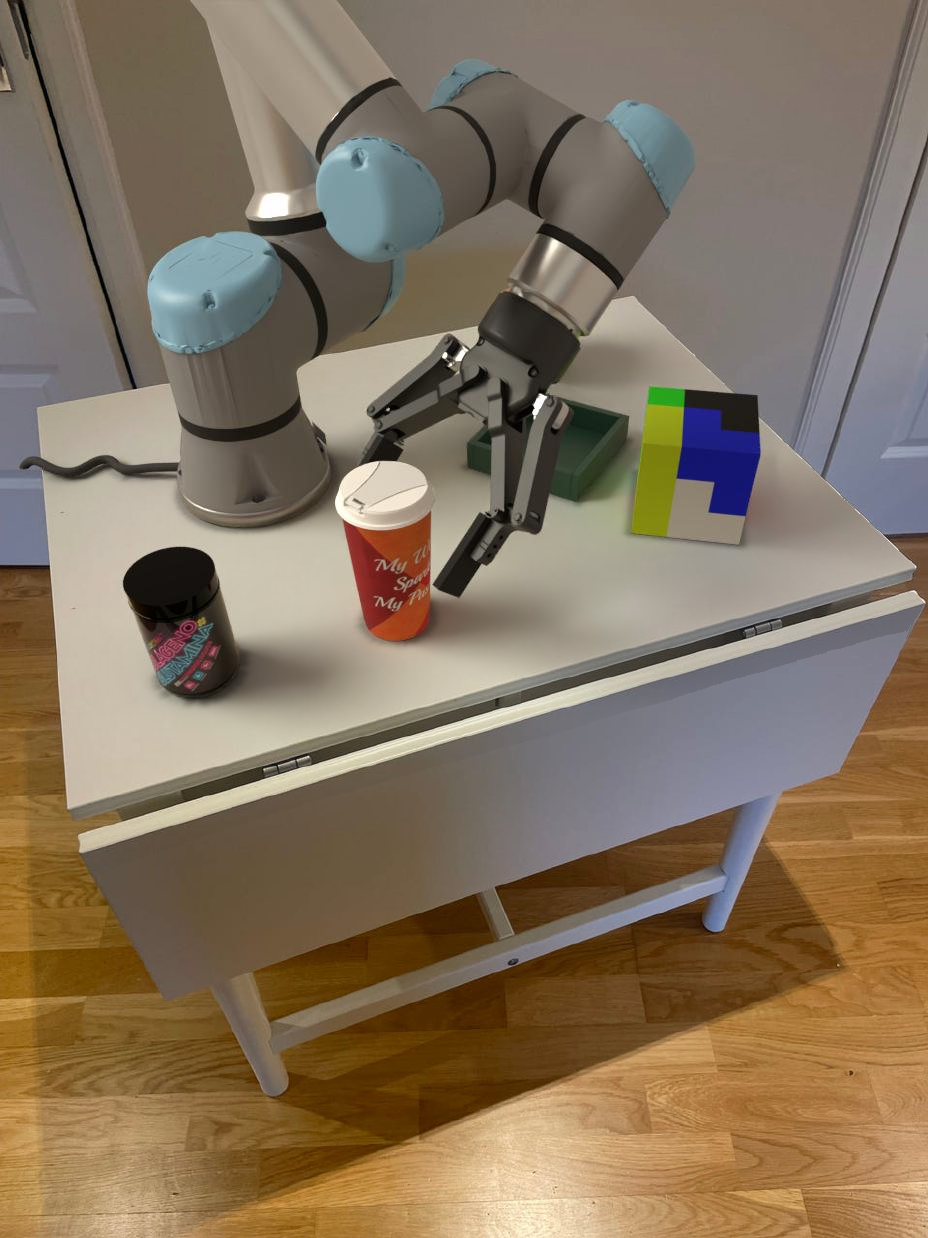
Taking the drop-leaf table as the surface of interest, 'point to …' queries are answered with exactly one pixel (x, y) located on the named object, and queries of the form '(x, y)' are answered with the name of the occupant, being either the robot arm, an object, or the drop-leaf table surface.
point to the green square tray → (568, 448)
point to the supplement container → (183, 620)
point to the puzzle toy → (696, 464)
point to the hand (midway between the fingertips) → (395, 547)
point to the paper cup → (389, 545)
